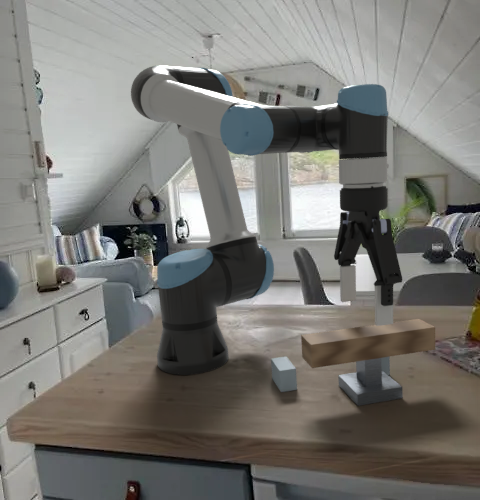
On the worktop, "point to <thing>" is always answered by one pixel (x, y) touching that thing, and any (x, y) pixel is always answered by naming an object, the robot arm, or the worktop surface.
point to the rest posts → (287, 372)
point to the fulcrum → (370, 383)
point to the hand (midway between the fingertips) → (364, 311)
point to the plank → (367, 343)
